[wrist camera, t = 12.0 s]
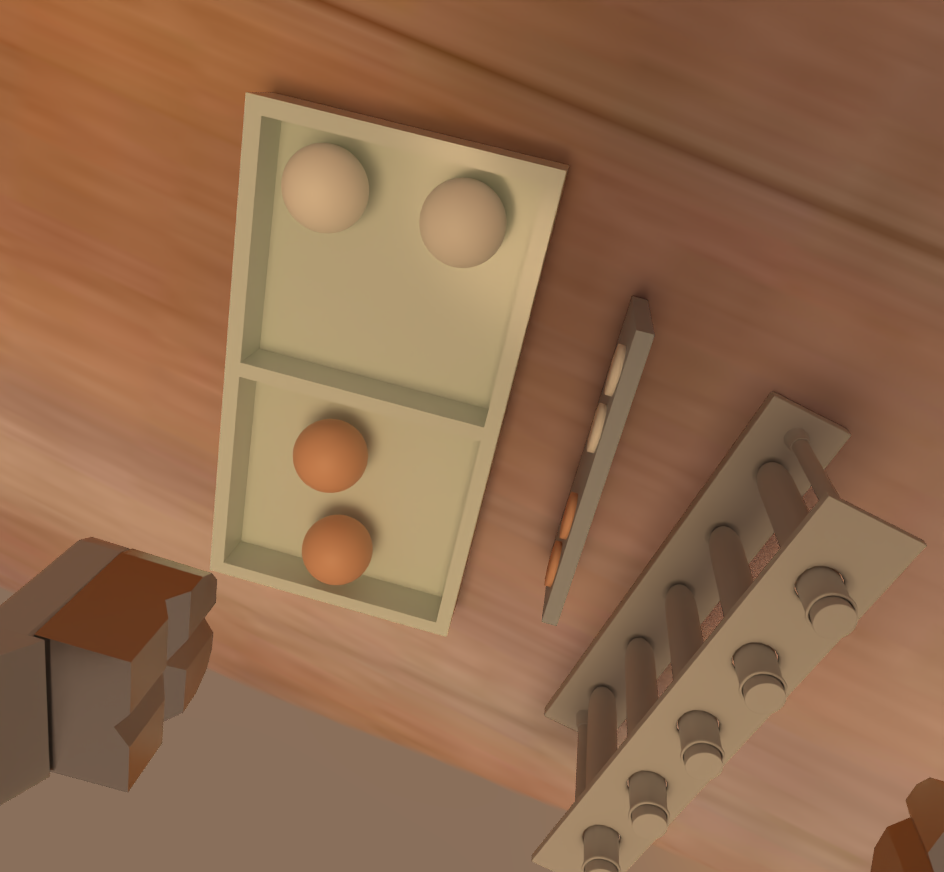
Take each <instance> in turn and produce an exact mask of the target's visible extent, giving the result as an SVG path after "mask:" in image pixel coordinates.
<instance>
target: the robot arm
mask: <svg viewBox="0 0 944 872" xmlns="http://www.w3.org/2000/svg"><path fill="white" fill-rule="evenodd" d="M216 589H217V579H216V578H215V577H214V575H213V574H212V573H210V572H206V571H203V570H200V569H197V568H193V567H190V566H187V565H184V564H181V563H177V562H174V561H171V560H168V559H164V558H161V557H158V556H155V555H152V554H148V553H145V552H142V551H139V550H135V549H129V548H126V547H123V546H120V545H117V544H113V543H110V542H107V541H104V540H100V539H97V538H94V537H89V538H85V539H81V540H79V541H77V542H76V543H75V544H73V545H72V546H71V547H70V548H69V549H67V550H66V551H65V552H64V553H63V554H61V555H60V556H59V557H58V558H57V559H55V560H54V561H53V562H52V563H51V564H49V565H48V566H47V567H46V568H45V569H43V570H42V571H41V572H40V573H39V574H37V575H36V576H35V577H34V578H33V579H31V580H30V581H29V582H28V583H27V584H26V585H24V586H23V587H22V588H21V589H20V590H18V591H17V592H16V593H15V594H14V595H12V596H11V597H10V598H9V599H8V600H7V601H5V602H4V603H3V604H2V605H0V805H2V804H3V803H5V802H7V801H9V800H11V799H12V798H14V797H16V796H17V795H19V794H21V793H23V792H24V791H26V790H27V789H29V788H31V787H33V786H35V785H36V784H38V783H40V782H41V781H43V780H45V779H46V778H48V777H49V776H50V772H54V773H58V774H61V775H65V776H69V777H72V778H76V779H80V780H84V781H87V782H91V783H95V784H98V785H102V786H106V787H109V788H114V789H117V790H121V791H124V792H129V790H130V789H131V787H132V786H133V784H134V783H135V782H136V780H137V779H138V777H139V776H140V774H141V773H142V772H143V770H144V769H145V767H146V766H147V764H148V763H149V761H150V760H151V758H152V757H153V756H154V754H155V753H156V751H157V750H158V748H159V747H160V746H161V744H162V737H163V722H164V721H166V720H168V719H170V718H172V717H175V716H177V715H179V714H181V713H183V712H184V710H185V709H186V707H187V706H188V704H189V703H190V701H191V700H192V698H193V697H194V695H195V694H196V692H197V690H198V687H199V685H200V683H201V681H202V678H203V676H204V674H205V672H206V669H207V666H208V662H209V658H210V654H211V650H212V641H213V631H212V630H211V628H210V626H209V625H208V623H207V621H206V620H205V616H206V615H207V614H208V612H209V611H210V610H211V608H212V607H213V606H214V604H215V603H216ZM906 804H907V807H908V811H909V814H910V818H908V819H905V820H903V821H900V822H898V823H896V824H893V825H891V826H888V827H887V828H886V830H885V831H884V833H883V835H882V836H881V838H880V839H879V841H878V843H877V844H876V846H875V848H874V854H873V860H872V866H871V872H944V781H941V780H938V779H934V778H928V779H926V780H924V781H922V782H920V783H918V784H917V785H916V786H915V787H914V789H913V790H912V792H911V793H910V794H909V796H908V797H907V799H906Z"/></svg>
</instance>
